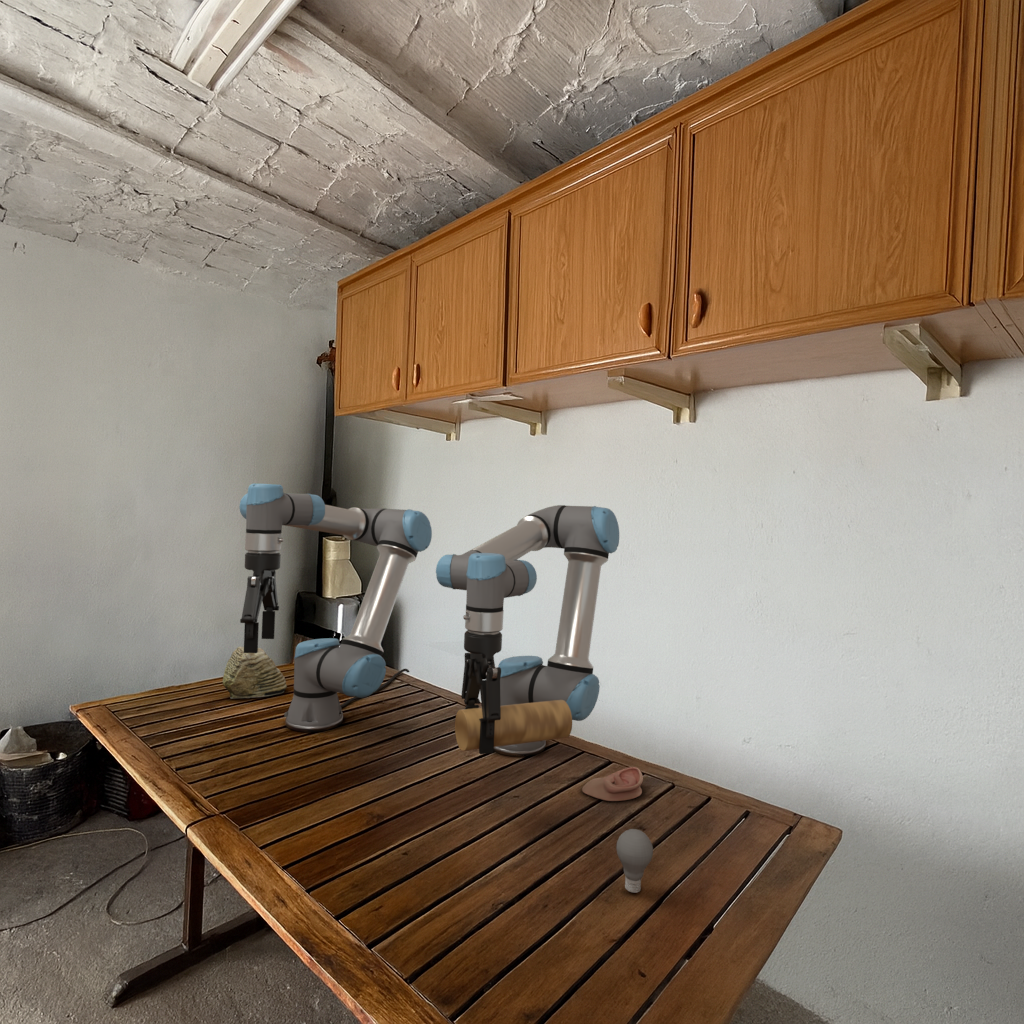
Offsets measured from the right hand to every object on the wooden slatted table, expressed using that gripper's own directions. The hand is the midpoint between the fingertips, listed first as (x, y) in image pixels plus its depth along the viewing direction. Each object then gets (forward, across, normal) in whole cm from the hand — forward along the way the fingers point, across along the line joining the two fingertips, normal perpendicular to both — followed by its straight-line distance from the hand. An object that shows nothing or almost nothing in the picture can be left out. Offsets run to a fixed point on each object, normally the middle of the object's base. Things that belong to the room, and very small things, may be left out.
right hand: (478, 744), depth 126 cm
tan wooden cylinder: (0, 0, +8) cm, 8 cm away
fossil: (+15, -95, -37) cm, 104 cm away
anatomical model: (+15, -2, +34) cm, 37 cm away
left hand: (-14, -37, -39) cm, 56 cm away
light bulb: (+15, +30, +16) cm, 38 cm away
